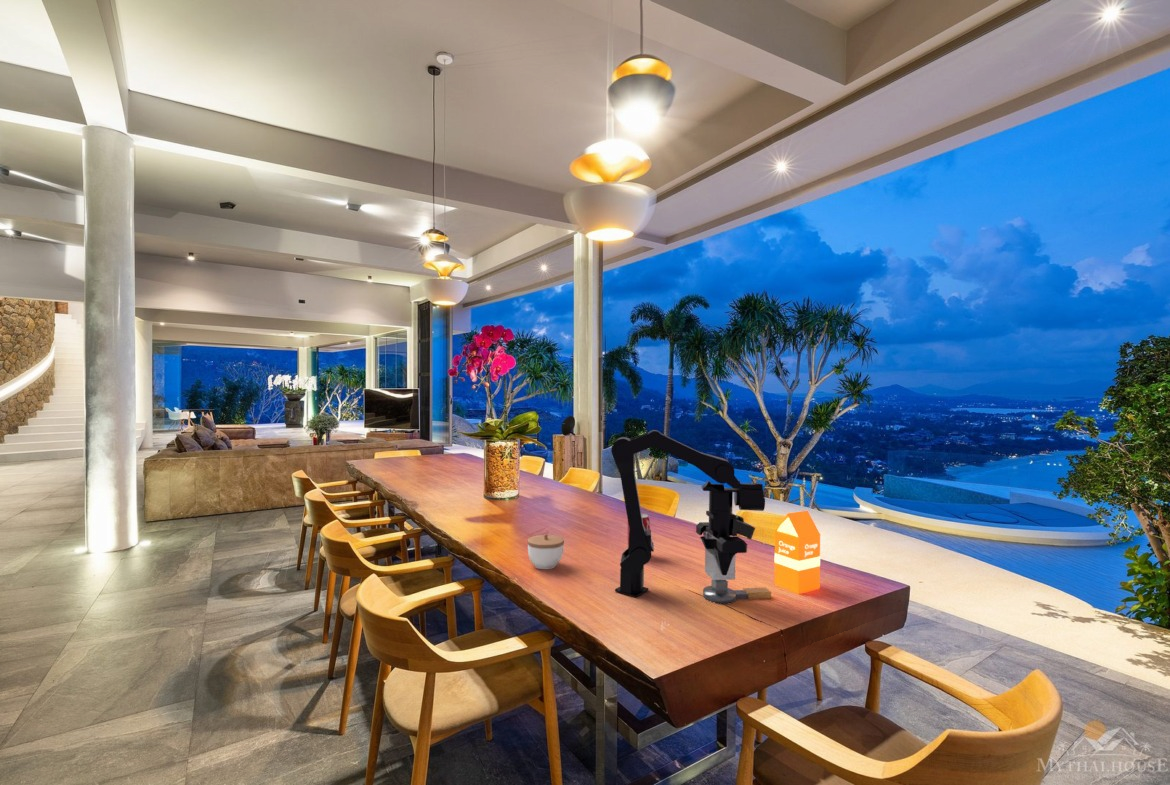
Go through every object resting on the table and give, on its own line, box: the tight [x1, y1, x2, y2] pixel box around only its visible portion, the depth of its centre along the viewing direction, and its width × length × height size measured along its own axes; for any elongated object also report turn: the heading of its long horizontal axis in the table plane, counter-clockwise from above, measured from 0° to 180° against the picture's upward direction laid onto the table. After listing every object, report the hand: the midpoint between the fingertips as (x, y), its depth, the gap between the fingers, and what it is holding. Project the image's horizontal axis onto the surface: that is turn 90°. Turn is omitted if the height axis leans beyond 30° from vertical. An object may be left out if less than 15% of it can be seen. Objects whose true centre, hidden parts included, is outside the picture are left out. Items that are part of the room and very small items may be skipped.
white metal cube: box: [704, 548, 736, 581], centre depth 126 cm, size 6×6×6 cm
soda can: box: [626, 512, 651, 550], centre depth 158 cm, size 7×7×13 cm
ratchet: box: [702, 578, 772, 605], centre depth 126 cm, size 17×8×4 cm, turn 97°
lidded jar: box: [527, 533, 565, 570], centre depth 147 cm, size 11×11×9 cm
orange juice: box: [773, 510, 821, 595], centre depth 134 cm, size 8×9×20 cm
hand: (719, 571), depth 126 cm, fingers closed on white metal cube, 6 cm apart
